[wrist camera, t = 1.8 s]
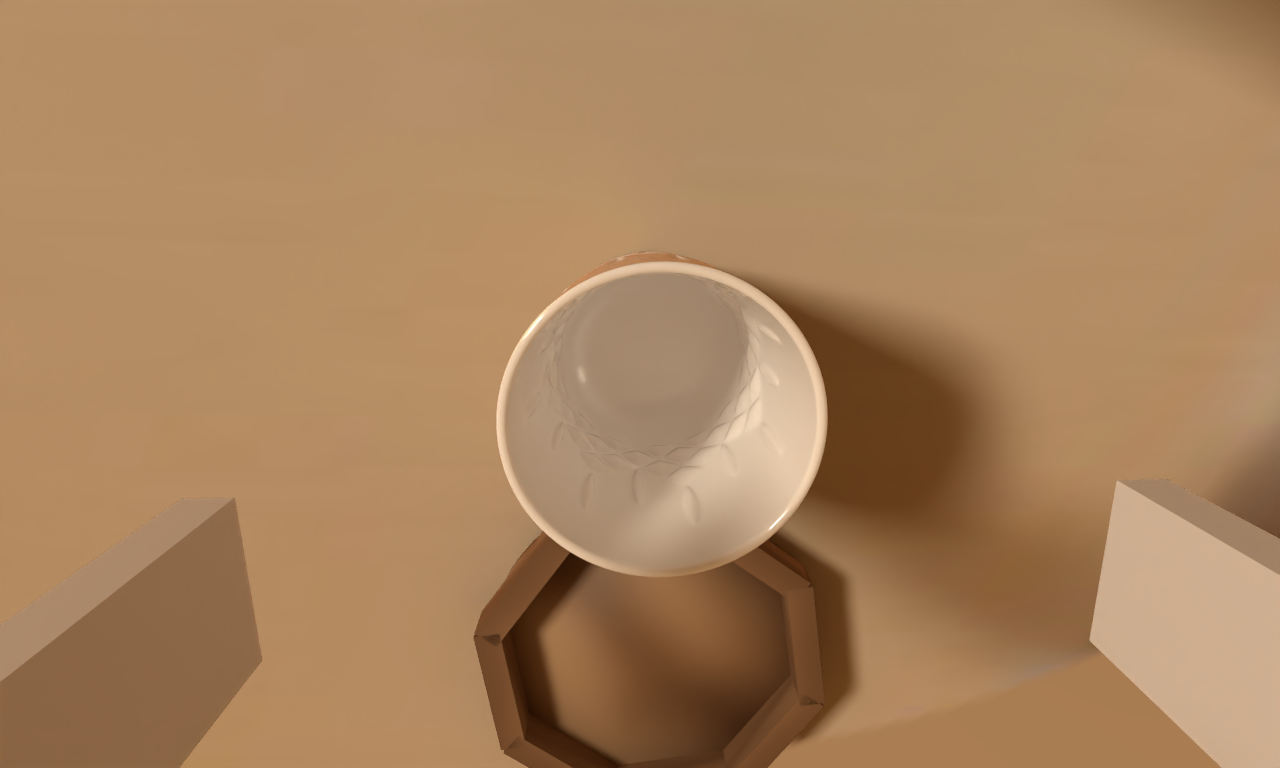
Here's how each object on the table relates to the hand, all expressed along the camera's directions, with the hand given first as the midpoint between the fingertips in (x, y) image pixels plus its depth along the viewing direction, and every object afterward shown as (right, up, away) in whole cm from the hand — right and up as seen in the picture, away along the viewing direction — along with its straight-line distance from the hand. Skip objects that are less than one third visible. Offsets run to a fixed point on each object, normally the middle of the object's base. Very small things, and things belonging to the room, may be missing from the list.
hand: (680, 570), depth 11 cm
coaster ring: (0, -8, +19) cm, 21 cm away
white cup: (0, +4, +16) cm, 17 cm away
